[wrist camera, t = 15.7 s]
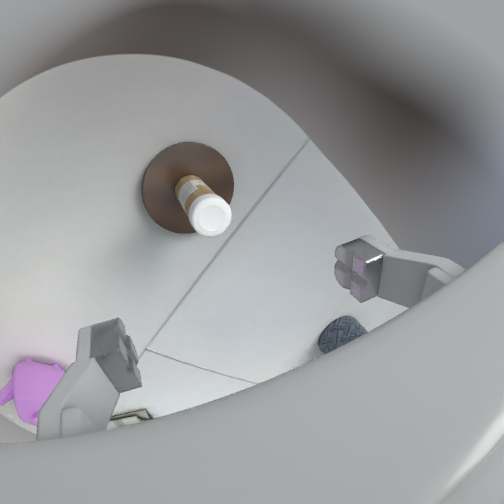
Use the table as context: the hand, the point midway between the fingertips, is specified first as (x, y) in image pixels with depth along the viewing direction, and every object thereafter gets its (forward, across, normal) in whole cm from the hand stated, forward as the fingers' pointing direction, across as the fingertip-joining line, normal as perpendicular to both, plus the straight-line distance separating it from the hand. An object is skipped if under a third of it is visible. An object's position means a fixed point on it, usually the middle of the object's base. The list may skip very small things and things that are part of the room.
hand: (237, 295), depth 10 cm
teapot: (+36, +37, +34) cm, 62 cm away
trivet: (+36, -4, +6) cm, 37 cm away
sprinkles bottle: (+35, -4, +6) cm, 36 cm away
